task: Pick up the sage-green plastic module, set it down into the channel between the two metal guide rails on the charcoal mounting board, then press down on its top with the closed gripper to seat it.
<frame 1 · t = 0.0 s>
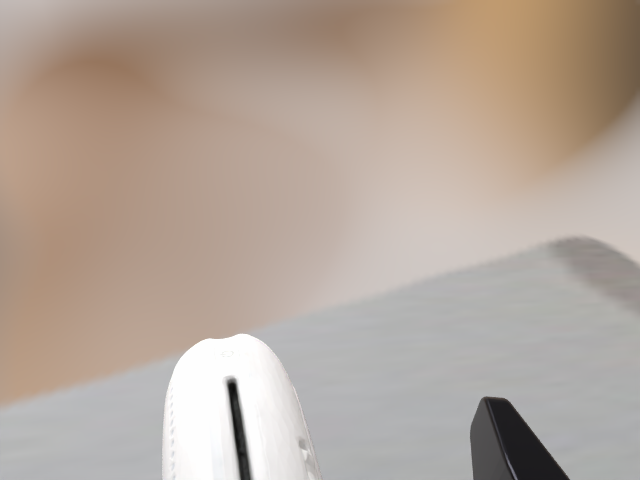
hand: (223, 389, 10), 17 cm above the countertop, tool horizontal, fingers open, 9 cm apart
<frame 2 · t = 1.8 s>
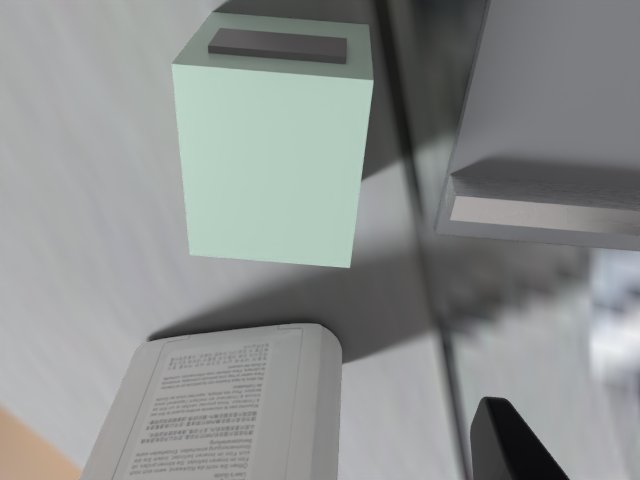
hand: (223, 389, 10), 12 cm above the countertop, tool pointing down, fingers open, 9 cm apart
green module: (287, 106, 19), on the countertop
photo printer: (239, 350, 27), on the countertop
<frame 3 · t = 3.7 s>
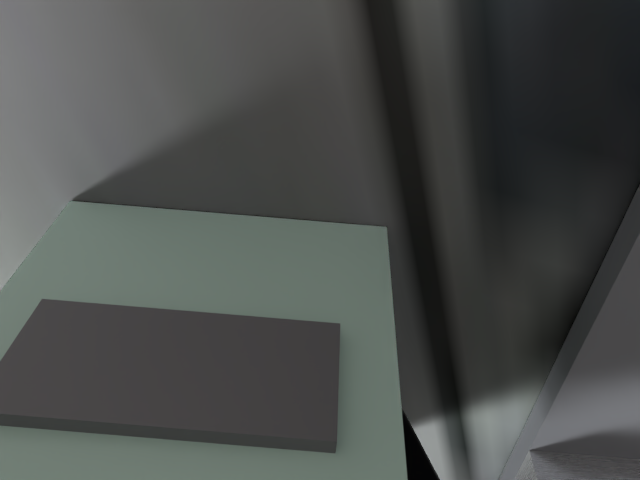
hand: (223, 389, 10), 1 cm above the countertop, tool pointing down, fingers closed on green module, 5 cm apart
green module: (233, 345, 10), on the countertop, touching gripper
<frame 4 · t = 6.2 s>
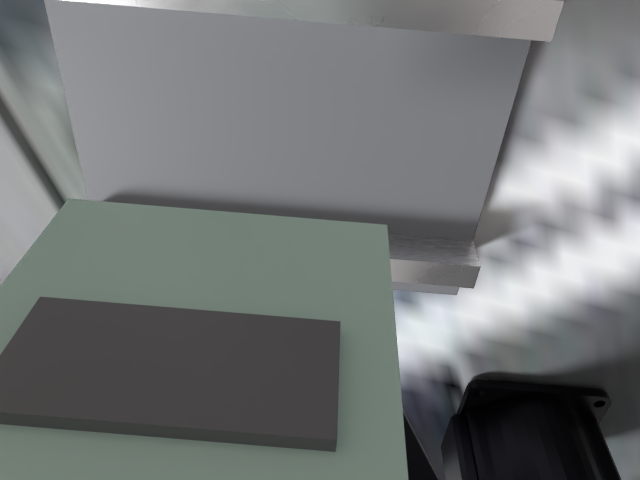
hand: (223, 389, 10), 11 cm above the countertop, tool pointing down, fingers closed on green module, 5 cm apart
green module: (233, 343, 10), point 10 cm above the countertop, touching gripper
mounting board: (286, 121, 18), on the countertop
when the fingers open (2 cm above the countertop, at t = 8.5 s): green module stays where it is, resting on mounting board.
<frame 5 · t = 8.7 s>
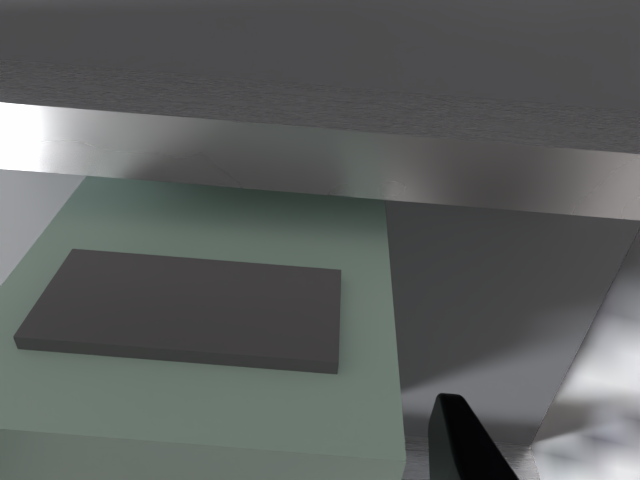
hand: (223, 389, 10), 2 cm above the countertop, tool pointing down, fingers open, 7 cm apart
green module: (241, 308, 11), resting on mounting board
mounting board: (244, 292, 12), on the countertop
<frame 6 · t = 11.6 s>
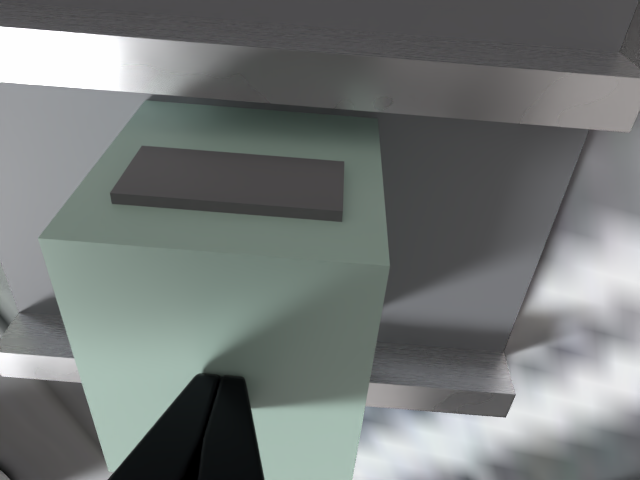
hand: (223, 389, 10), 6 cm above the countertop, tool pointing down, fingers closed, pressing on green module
green module: (261, 223, 14), resting on mounting board, touching gripper
mounting board: (263, 212, 14), on the countertop
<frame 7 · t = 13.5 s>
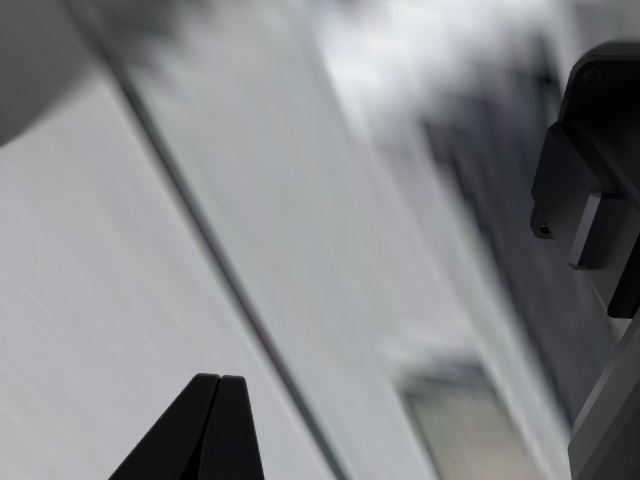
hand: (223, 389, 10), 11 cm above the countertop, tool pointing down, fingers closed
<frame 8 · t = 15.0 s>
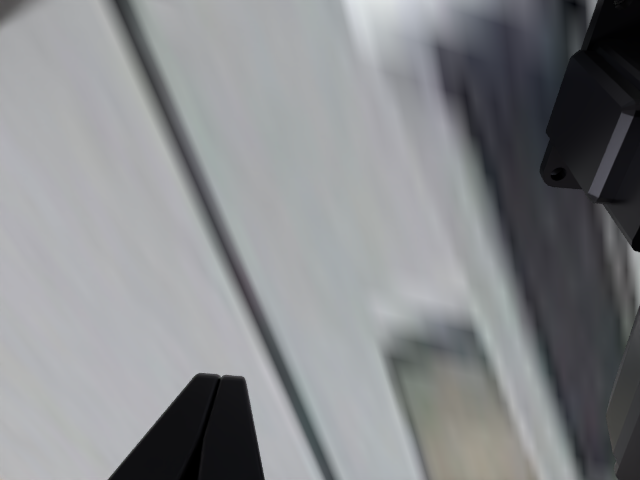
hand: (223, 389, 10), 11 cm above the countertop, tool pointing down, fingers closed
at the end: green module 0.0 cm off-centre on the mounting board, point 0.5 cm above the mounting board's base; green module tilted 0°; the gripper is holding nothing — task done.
